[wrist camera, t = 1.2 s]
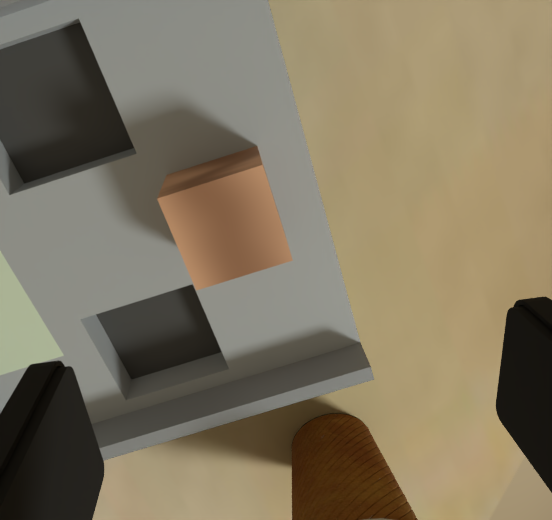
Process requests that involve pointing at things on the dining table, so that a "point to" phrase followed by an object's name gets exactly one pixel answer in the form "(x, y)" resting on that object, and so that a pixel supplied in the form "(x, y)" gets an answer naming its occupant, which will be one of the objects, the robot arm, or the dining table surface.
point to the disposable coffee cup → (343, 474)
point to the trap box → (156, 218)
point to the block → (224, 218)
